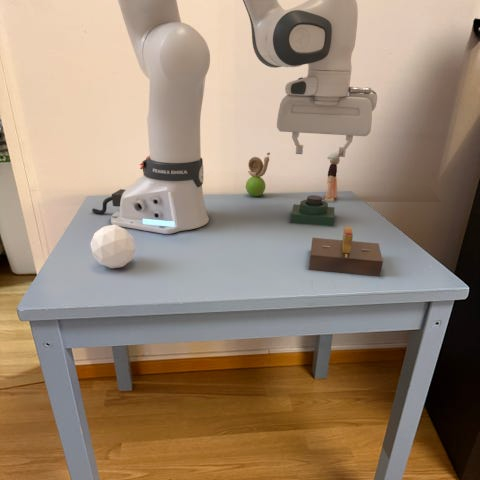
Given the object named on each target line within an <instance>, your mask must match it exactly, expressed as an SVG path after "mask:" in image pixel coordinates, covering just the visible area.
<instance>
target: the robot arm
mask: <svg viewBox="0 0 480 480" xmlns="http://www.w3.org/2000/svg"><path fill="white" fill-rule="evenodd" d="M117 2H118V6H119V9H120V11H121V15H122V19H123V22H124V25H125V28H126V32H127V34H128V38H129V39H130V43H131V45H132V49H133V51H134V54H135V57H136V60H137V63H138V65H139V68H140V71H142V73H143V74H144V76H145V78H148V80H149V92H148V93H149V95H148V110H147V111H148V112H147V118H146V121H147V137H148V147H149V148H148V150H149V155H147V156H146V157H145V159H144V160H142V161H141V163H140V164H139V169H140V170H142V172H143V174H142V175H141V176H140V177H139V178H138V179H137V180H135V181H134V182H133V183H132V184H130V185H129V186H128V187H127V188H126V189H122V188H120V189H119V190H117V191H115V192H113V193H111V196H108V197H106V198H105V199H104V200H102V201H103V202H102V209H98V208H92V210H91V211H92V213H94V214H98V215H103V214H105V213H106V212H107V206H108V203H110V202H112V206H113V207H119V209H118V210H116V211H115V212H114V213H112V215H111V216H110V223H111V225H117V226H119V227H121V228H128V229H134V230H139V231H140V230H141V231H147V232H150V233H151V232H152V233H158V234H164V235H171V234H174V233H175V234H176V233H178V232H183V231H189V230H194V229H198V228H201V227H204V226H205V225H207V224H208V223H209V221H210V218H209V216H208V212H207V208H206V204H205V197H204V192H203V185H204V180H205V179H204V178H205V177H204V162H203V157H201V156H202V155H201V117H202V107H203V101H204V96H205V95H204V94H205V87H206V86H205V84H206V77H207V74H208V72H209V69H210V65H211V53H210V52H211V51H210V49H209V46H208V42H207V40H206V39H205V38H204V37H203V35H201V33H200V32H199V31H198V30H197V29H195V28H194V27H193V26H192V25H190V24H187V23H185V22H182V20H181V17H180V12H179V6H178V1H177V0H117ZM242 2H243V4H244V7H245V9H246V13H247V15H248V18H249V22H250V29H251V41H252V42H251V43H252V48H253V51H254V54H255V56H256V57H257V59H258V60H259V61H260V62H261V64H263V65H265V66H266V67H269V68H275V69H276V68H297V67H301V66H304V65H307V67H308V68H307V75H306V76H304V77H303V76H301V77H299V78H297V79H294V80H291V81H289V82H287V83H286V84H285V85H284V86H285V87H284V91H285V94H286V95H285V96H283V98H282V99H281V101H280V103H279V107H278V112H277V119H276V128H277V130H278V131H279V132H281V133H282V132H283V133H291V138H292V141H293V144H294V146H295V155H303V153H304V144H300V142H299V139H298V138H300V134H319V135H335V136H345V141H346V142H345V144H343V146H339V147H338V152H339V153H338V157H339V158H346V151H347V149H348V148H349V146H350V145H351V143H352V142H353V138H354V137H367V136H368V135H370V133H371V131H372V124H373V111H374V110H375V109H376V108H377V102H378V94H377V93H376V91H375V90H373V89H372V87H358V86H350V84H351V76H352V71H353V70H352V69H353V68H352V55H353V51H354V49H355V46H356V41H357V40H356V38H357V30H358V18H359V17H358V13H359V11H358V2H357V0H306V1H305V2H303V3H301V4H298V5H296V6H294V7H292V8H289V9H284V8H283V6H281V4H280V2H279V1H278V0H242Z"/></svg>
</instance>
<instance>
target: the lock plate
mask: <svg viewBox="0 0 480 480" xmlns="http://www.w3.org/2000/svg"><path fill="white" fill-rule="evenodd" d="M310 246H311V247H310V256H309V263H308V270H312V271H319V272H320V271H321V272H322V271H323V272H332V273H343V274H351V275H352V274H353V275H360V276H361V275H362V276H371V277H372V276H373V277H380V276H381V273H382V267H383V263H384V260H383V257H382V252H381V247H380V243H378V242H369V241H368V242H367V241H355V240H352V244H351V250H350V253H342V239H332V238H322V237H312V238H311V245H310Z"/></svg>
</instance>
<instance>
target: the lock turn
mask: <svg viewBox="0 0 480 480" xmlns="http://www.w3.org/2000/svg"><path fill="white" fill-rule="evenodd" d="M353 234H354V233H353V228H352V227H351V226H344V227H343V233H342V239H341V240H342V253H350V250H351V244H352V241H353V237H354V235H353Z"/></svg>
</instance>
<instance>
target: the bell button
mask: <svg viewBox="0 0 480 480" xmlns="http://www.w3.org/2000/svg"><path fill="white" fill-rule="evenodd" d="M306 200H307V205H311V206H321V205H322V201H323V197H322V196H320V195H314V194H313V195H312V194H311V195H307V196H306Z"/></svg>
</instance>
